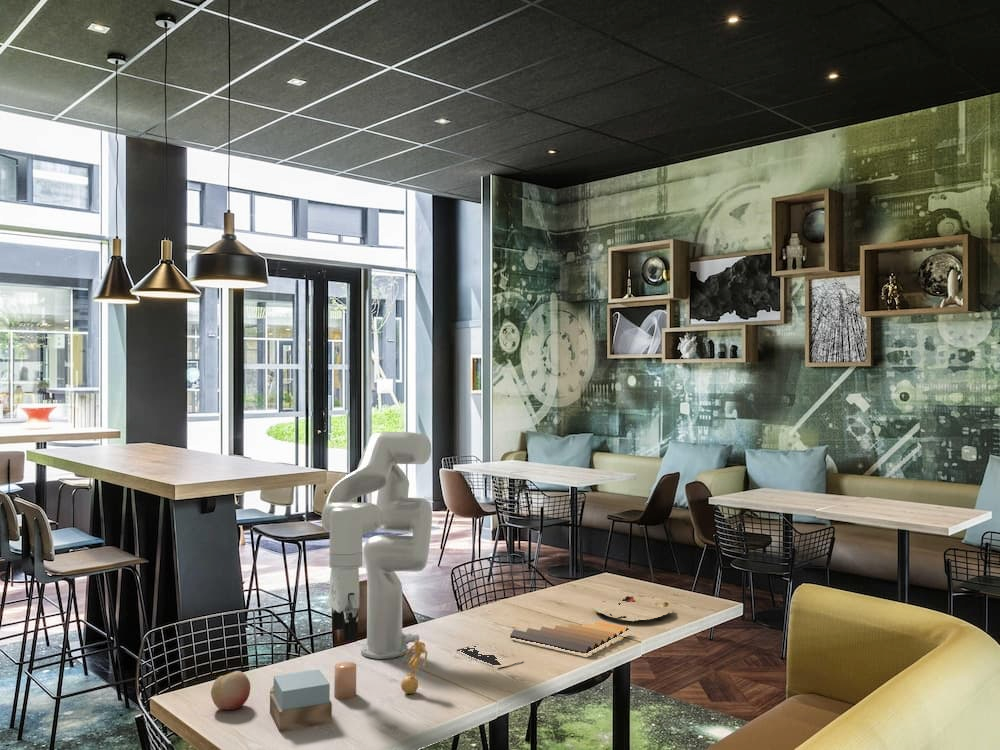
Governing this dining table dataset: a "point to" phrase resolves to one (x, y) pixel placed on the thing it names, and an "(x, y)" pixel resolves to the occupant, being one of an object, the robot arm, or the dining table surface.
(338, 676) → the terracotta cylinder
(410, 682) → the figurine
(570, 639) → the pan flute
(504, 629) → the dining table surface
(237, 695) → the fruit
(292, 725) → the bottom block
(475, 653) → the cell phone
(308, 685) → the top block
